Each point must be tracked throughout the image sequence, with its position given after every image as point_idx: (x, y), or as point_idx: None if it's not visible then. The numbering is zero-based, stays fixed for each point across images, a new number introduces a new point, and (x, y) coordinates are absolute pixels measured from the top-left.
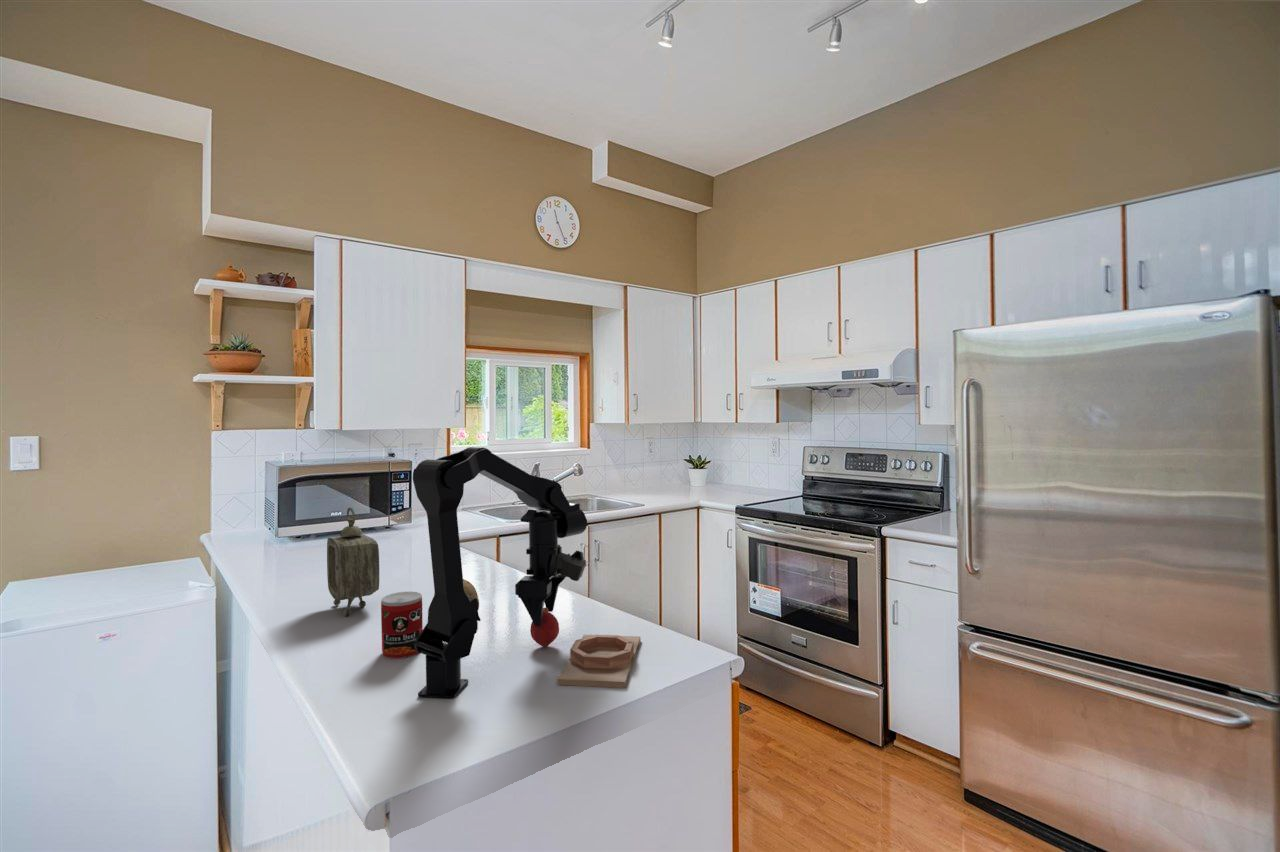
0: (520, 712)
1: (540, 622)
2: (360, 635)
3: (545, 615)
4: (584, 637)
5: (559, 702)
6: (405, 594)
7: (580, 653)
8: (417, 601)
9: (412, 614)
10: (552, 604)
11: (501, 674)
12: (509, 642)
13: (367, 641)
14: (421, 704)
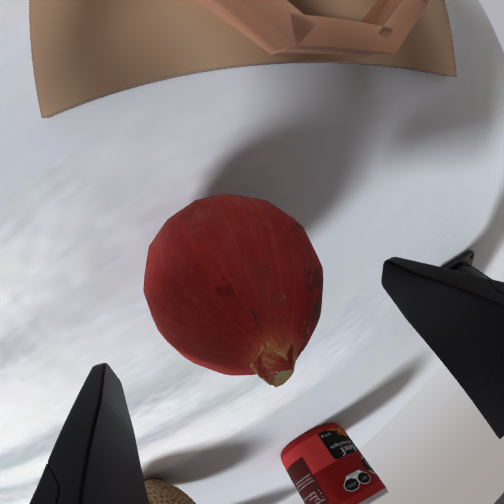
0: (497, 122)
1: (414, 261)
2: (262, 489)
3: (304, 317)
4: (82, 87)
5: (479, 62)
6: None
7: (415, 13)
8: (366, 499)
9: (366, 478)
10: (104, 403)
11: (413, 236)
12: None
13: (280, 476)
14: None
